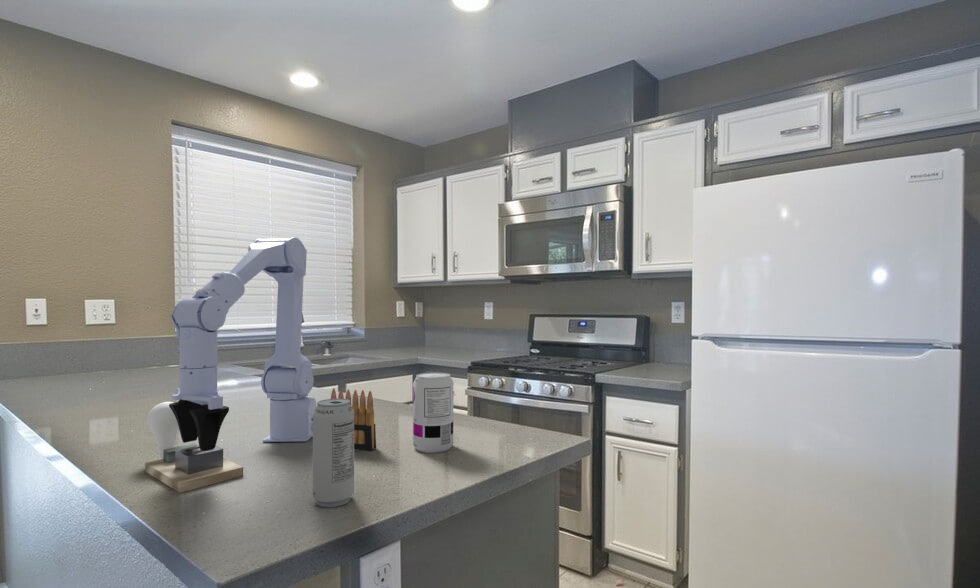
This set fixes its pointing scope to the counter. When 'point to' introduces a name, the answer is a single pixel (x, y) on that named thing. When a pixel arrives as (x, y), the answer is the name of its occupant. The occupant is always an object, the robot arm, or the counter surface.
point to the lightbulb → (163, 426)
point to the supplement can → (433, 412)
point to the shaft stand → (185, 482)
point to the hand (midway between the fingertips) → (198, 445)
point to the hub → (198, 459)
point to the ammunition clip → (361, 419)
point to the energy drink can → (333, 452)
